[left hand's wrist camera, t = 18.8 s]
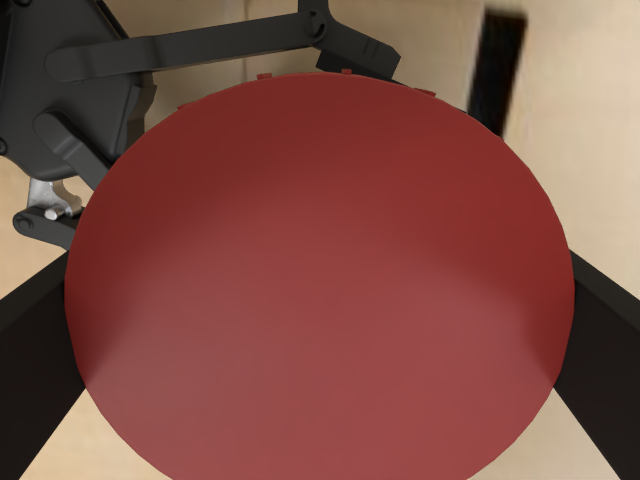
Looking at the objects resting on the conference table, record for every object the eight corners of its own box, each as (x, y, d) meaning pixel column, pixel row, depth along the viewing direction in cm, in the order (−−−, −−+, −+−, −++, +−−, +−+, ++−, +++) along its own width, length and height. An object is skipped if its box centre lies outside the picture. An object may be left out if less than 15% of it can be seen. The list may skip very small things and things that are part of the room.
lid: (574, 74, 10) (643, 76, 8) (495, 456, 14) (527, 526, 12) (75, 62, 10) (9, 61, 8) (136, 450, 14) (102, 519, 12)
